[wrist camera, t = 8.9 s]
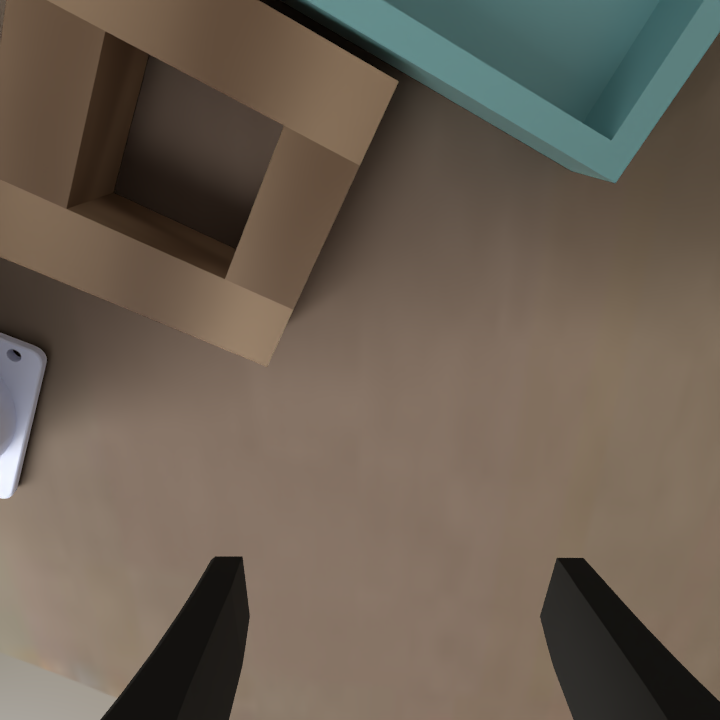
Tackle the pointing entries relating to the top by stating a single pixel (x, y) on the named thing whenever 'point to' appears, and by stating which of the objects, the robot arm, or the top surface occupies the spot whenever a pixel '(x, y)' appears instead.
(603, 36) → the tray
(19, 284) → the top surface
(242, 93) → the hole block
